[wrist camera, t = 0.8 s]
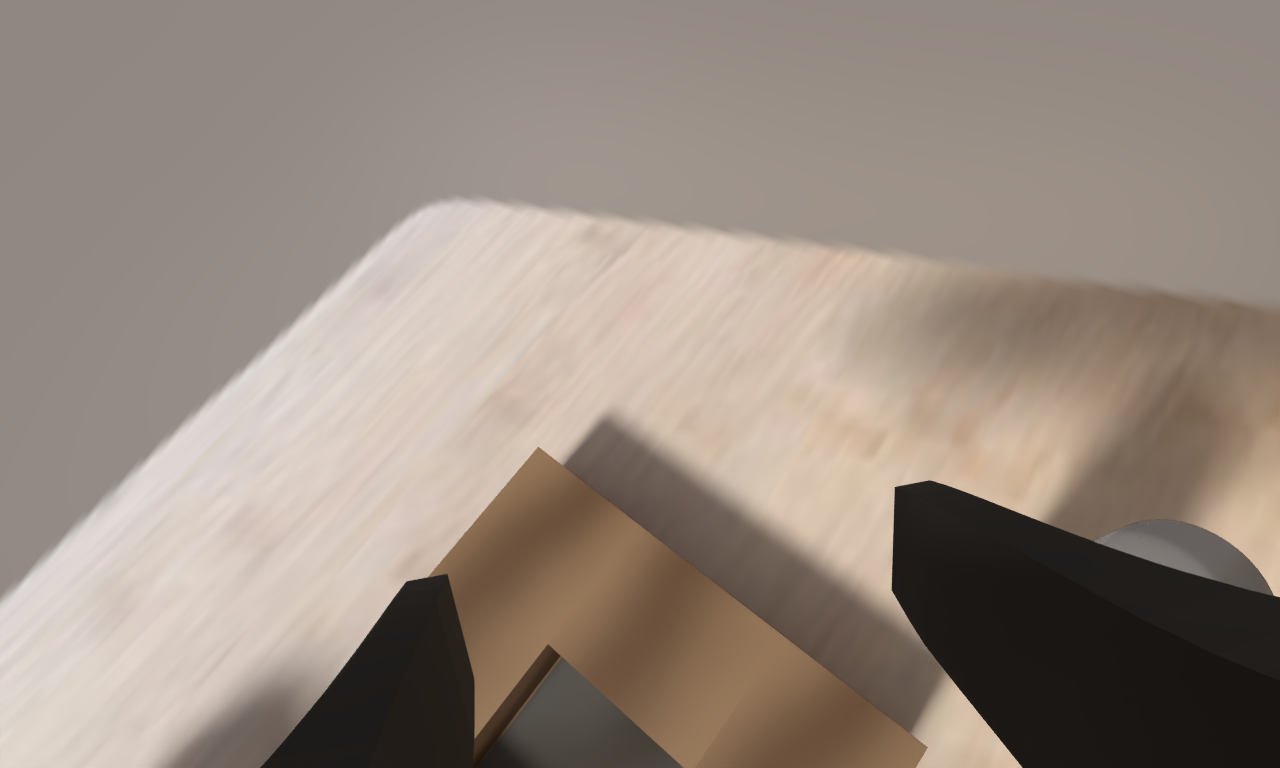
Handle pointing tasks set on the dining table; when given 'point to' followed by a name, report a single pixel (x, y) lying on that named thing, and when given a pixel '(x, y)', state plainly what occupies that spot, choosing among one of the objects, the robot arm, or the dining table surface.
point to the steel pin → (1187, 552)
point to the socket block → (634, 650)
